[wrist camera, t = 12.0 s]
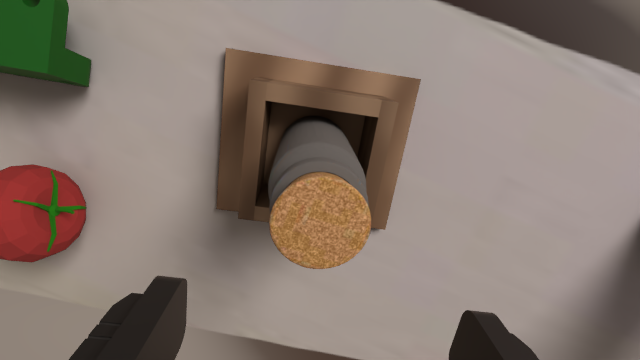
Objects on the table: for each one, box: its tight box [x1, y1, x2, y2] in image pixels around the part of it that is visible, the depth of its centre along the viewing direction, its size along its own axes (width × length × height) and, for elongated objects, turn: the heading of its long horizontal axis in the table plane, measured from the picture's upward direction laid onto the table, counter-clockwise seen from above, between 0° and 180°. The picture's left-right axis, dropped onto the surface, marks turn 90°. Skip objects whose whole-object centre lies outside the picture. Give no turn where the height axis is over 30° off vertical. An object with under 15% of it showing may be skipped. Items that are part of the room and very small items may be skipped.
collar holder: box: [216, 48, 421, 234], centre depth 28 cm, size 16×14×6 cm
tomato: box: [0, 165, 86, 262], centre depth 28 cm, size 8×8×8 cm
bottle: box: [268, 116, 371, 269], centre depth 23 cm, size 6×6×15 cm
